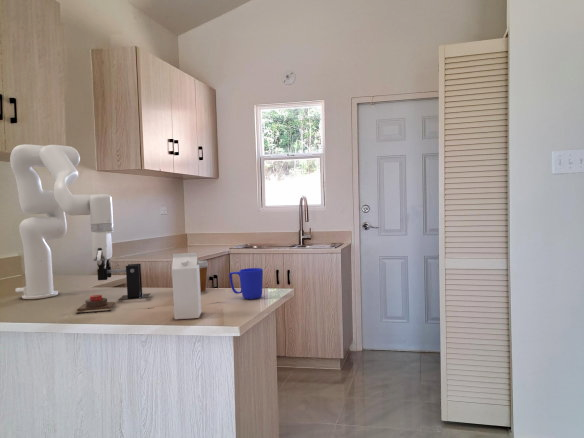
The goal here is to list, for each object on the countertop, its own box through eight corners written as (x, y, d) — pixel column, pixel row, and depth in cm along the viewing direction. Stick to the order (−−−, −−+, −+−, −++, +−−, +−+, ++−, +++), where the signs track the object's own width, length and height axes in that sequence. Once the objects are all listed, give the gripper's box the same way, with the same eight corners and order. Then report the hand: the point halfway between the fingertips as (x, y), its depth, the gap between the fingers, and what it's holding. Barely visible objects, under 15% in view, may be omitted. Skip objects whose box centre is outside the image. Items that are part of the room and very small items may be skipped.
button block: (77, 314, 150) (76, 303, 150) (84, 308, 158) (83, 298, 158) (109, 311, 152) (109, 301, 152) (115, 306, 160) (114, 296, 160)
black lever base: (118, 302, 166) (116, 267, 165) (123, 298, 174) (121, 264, 173) (147, 300, 167) (145, 265, 167) (151, 296, 175) (149, 262, 175)
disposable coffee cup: (211, 293, 175) (209, 262, 175) (185, 296, 172) (183, 264, 172) (207, 289, 184) (206, 259, 184) (183, 292, 181) (181, 261, 181)
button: (89, 302, 153) (88, 297, 153) (92, 300, 157) (91, 295, 157) (100, 301, 154) (100, 296, 154) (103, 299, 157) (102, 294, 157)
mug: (234, 295, 169) (233, 268, 169) (266, 295, 167) (265, 267, 167) (226, 300, 161) (225, 271, 161) (260, 300, 159) (259, 271, 158)
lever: (101, 276, 166) (101, 269, 166) (105, 274, 171) (104, 267, 171) (136, 273, 168) (136, 266, 168) (138, 271, 173) (138, 265, 173)
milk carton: (178, 314, 144) (175, 252, 143) (201, 312, 144) (198, 251, 144) (174, 320, 137) (170, 255, 136) (199, 318, 137) (195, 254, 136)
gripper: (97, 227, 176) (99, 275, 177) (84, 230, 159) (87, 283, 160) (118, 226, 177) (120, 274, 178) (107, 229, 160) (110, 282, 161)
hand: (104, 278), depth 169 cm, fingers closed on lever, 5 cm apart
